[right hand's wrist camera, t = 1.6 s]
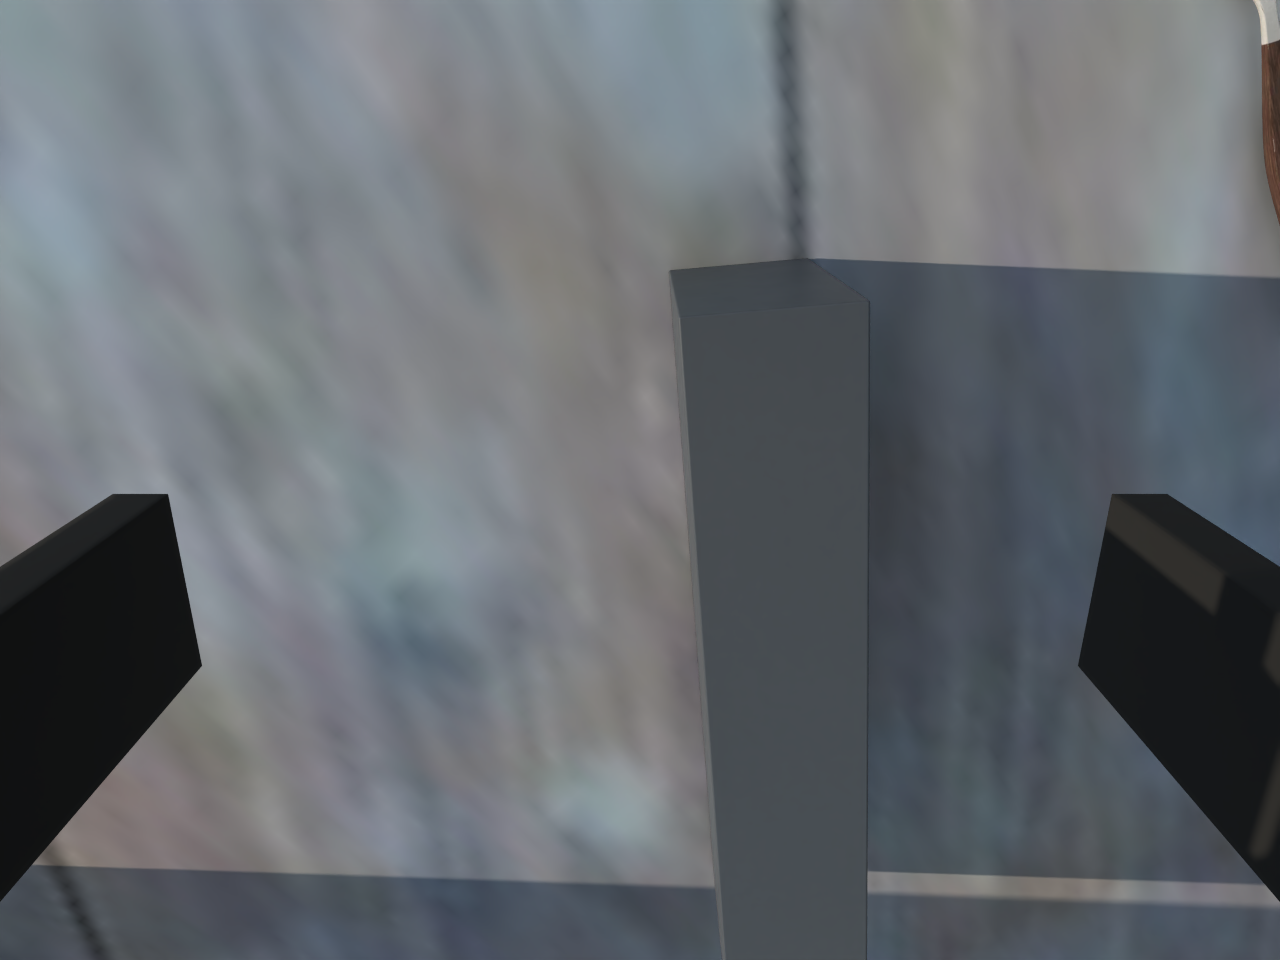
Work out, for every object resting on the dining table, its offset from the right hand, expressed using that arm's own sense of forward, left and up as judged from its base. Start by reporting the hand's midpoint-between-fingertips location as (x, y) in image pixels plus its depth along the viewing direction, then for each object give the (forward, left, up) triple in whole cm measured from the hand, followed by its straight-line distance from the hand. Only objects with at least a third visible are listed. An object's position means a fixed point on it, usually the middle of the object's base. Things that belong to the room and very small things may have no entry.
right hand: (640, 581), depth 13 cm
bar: (+2, +10, -17) cm, 20 cm away
